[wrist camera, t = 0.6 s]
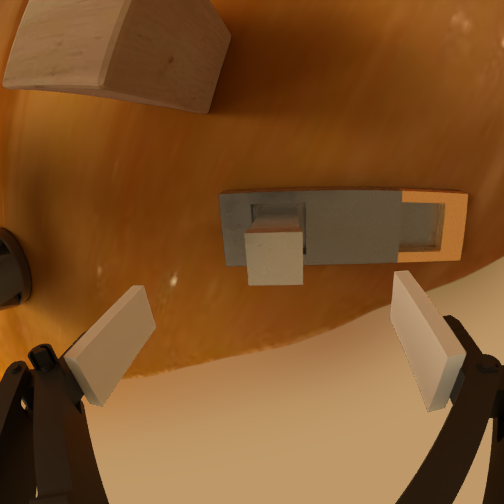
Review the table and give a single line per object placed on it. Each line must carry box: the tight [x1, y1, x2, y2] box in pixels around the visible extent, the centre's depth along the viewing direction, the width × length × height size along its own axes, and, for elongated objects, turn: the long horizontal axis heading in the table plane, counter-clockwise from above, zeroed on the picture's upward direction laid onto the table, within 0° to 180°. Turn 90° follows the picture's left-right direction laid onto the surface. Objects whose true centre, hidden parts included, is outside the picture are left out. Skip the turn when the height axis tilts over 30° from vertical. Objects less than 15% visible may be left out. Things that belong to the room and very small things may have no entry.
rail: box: [219, 187, 468, 266], centre depth 31 cm, size 28×8×2 cm, turn 94°
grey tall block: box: [244, 207, 303, 285], centre depth 28 cm, size 4×4×10 cm
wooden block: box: [3, 0, 231, 114], centre depth 19 cm, size 10×10×20 cm
